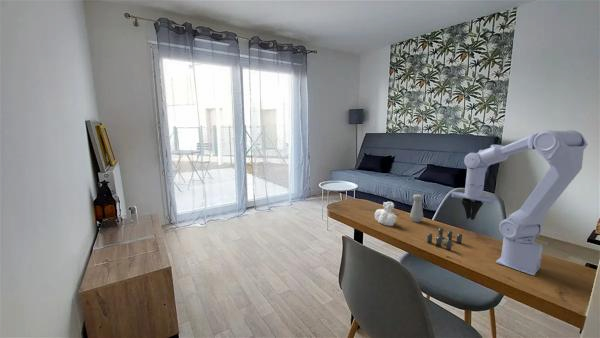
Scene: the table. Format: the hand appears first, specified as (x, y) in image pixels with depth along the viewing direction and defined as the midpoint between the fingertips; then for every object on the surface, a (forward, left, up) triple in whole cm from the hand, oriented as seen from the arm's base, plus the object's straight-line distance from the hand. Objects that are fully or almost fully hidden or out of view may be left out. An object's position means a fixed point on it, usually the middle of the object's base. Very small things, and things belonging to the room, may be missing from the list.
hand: (470, 218), depth 97 cm
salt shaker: (+24, -5, -10) cm, 26 cm away
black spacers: (+5, +9, -9) cm, 14 cm away
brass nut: (+6, +9, -10) cm, 14 cm away
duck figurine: (+31, +9, -10) cm, 34 cm away
